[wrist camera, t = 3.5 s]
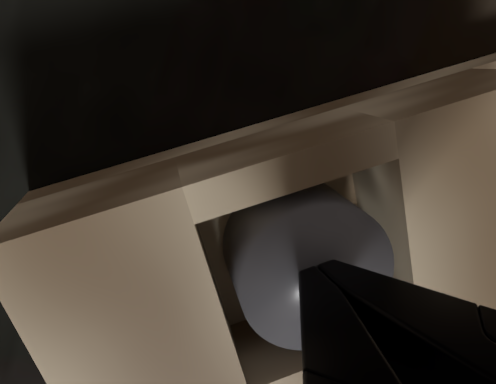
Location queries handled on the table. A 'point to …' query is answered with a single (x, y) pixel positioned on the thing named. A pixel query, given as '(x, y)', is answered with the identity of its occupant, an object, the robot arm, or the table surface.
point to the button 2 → (296, 254)
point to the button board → (215, 219)
